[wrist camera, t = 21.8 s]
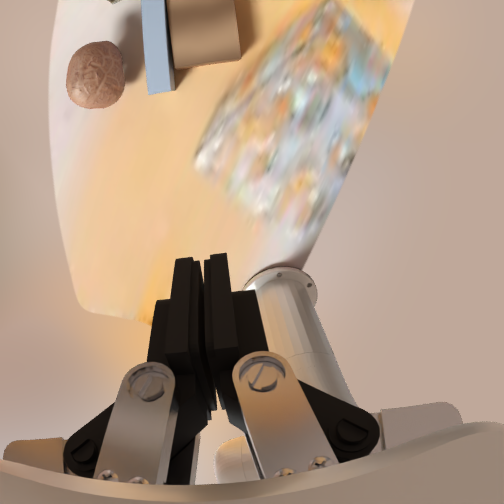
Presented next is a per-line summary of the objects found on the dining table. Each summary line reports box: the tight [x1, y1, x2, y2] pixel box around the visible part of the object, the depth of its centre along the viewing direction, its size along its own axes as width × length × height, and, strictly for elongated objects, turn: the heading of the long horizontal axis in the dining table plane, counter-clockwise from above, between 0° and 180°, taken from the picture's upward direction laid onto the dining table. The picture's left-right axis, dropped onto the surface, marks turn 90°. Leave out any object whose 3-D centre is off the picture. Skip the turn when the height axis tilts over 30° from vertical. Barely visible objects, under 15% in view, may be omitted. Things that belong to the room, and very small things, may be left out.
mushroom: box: [66, 41, 125, 109], centre depth 25 cm, size 8×6×8 cm
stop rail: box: [141, 0, 175, 95], centre depth 26 cm, size 13×2×4 cm, turn 3°
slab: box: [166, 0, 241, 70], centre depth 26 cm, size 12×7×4 cm, turn 6°
